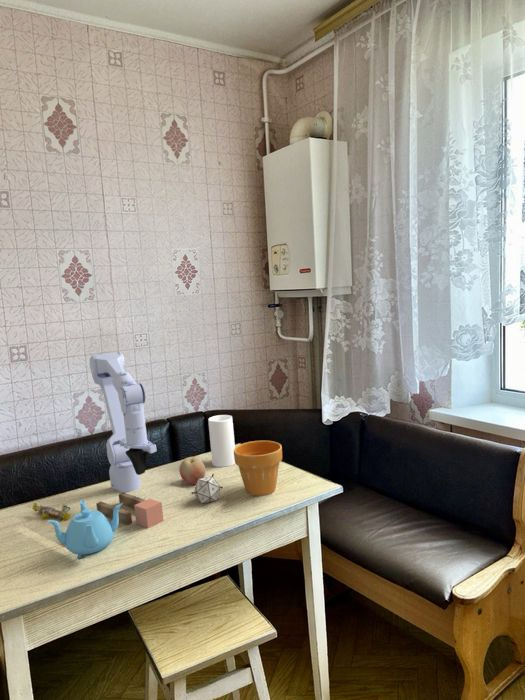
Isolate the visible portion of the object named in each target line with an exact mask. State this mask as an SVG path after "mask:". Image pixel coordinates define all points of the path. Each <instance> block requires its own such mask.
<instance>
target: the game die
mask: <svg viewBox="0 0 525 700" xmlns="http://www.w3.org/2000/svg"><path fill="white" fill-rule="evenodd" d="M214 475H215V474H214V473H212V475H211V476H206V477H205V476H204V478H200V479H198V478H197V477H196V479H197V482H196V484H195V485H194V486H195V487H194V489H193V491H192V492H191V493H190V494H192V495H193V494H194V496H195V497H196V499H197V501H198V502H199V503H200V504H202V505H203V504H207V503H211V502H212V503H213V502H216V501H218V498H219V495H220V491H221V489H223V488H224V486H220V484H219V483H218V481H217V480H216V479H215V477H214Z"/></svg>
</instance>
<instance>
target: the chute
mask: <svg viewBox="0 0 525 700" xmlns="http://www.w3.org/2000/svg"><path fill="white" fill-rule="evenodd" d="M145 500H146V499H144V498H140V497H137V496H135V495H133V494H132V495H131V494H129V493H128V492H119V494H118V502H119V504H121V503H123V504H122V505H121V506H125V507H128V508H130V509H133V510H135V507H134V505H136V504H138V503H140V502H143V501H145ZM115 507H116V506H114V505H112V504H109V503H107V502H104V501H99V502H96V511H99V512H101V513H102V514H103V515H104V516H105V517H106V518H107V519H111V520H112V519H113V510H114V508H115ZM118 516H119V523H121V524H123V525H126V526H129V525H131V524H133V518H132V511H131V512H130V511H128V510H126V509H123V508H121V507H120V508H119V512H118Z"/></svg>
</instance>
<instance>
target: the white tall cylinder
mask: <svg viewBox="0 0 525 700" xmlns="http://www.w3.org/2000/svg"><path fill="white" fill-rule="evenodd" d="M207 420H208V431H209V441H210V443H209V444H210V451H211V452H210V453H211V460H212V461H211V462H212V466H214V467H217V468H227V467H230V466H233V465H236V463H235V460H234V449H235V447H236V445H235V444H236V443H235V434H234V433H235V431H234V423H233V416H232V415H229V414H218V415H213V416H211V417H209V418H208V419H207Z"/></svg>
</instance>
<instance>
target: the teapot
mask: <svg viewBox="0 0 525 700" xmlns="http://www.w3.org/2000/svg"><path fill="white" fill-rule="evenodd" d="M122 504H123V503H121V504H120V503H119V504H117V505H116V506H115V508H114V510H113V519H111V521H110V520H109V518H108V517H105V516H104V515H103V514H102V513H101V512H99V511H97V509H96V510H95V509H94V510H92V509H90V508H87V505H86V501H85V500H84V499H80V500H79V505H80V512H78V513H77V514H75V515H74V516H73V517H72V518H71V519H70V522H69V523H68V525H67V528H66V531H65V532H63V531H62V529H61V525H60V523H59V522H58V521H57V520H55V519H48V520H47V522H48V523H50V524H52V526H53V529H54V532H55V538H57V541H58V542H59V543H60V544H62V545H64V547H65V548H66V550H67V551H69V552H70V553H71V554H74V555H77V556H76V559H77V560H83V559H85V558H86V555H90V554H93V553H98V552H100V551H102V550H104V549H105V548H107V547H108V546H109V545H110V544H111V542H112V541H113V539H114V535H115V532H116V530H118V527H119V523H120V522H119V516H118V512H119V508H120V509H121V507H122V506H123V505H122ZM84 555H85V556H84Z"/></svg>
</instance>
